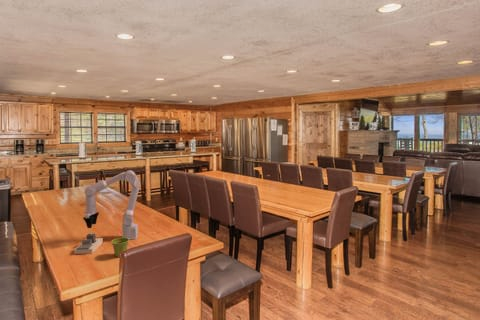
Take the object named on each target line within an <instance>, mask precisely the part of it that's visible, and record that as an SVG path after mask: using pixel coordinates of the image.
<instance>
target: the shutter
mask: <svg viewBox="0 0 480 320" xmlns="http://www.w3.org/2000/svg"><path fill="white" fill-rule="evenodd" d="M81 243H82V244H81ZM81 243H80V244H81V245H80V244H79V245H80V246H79V245H78V246H79V247H78V246H76V247H77V250H81V249H89V248H90V247H91V246H92V243H91V239H90V240H85V239H82V240H81Z"/></svg>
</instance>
